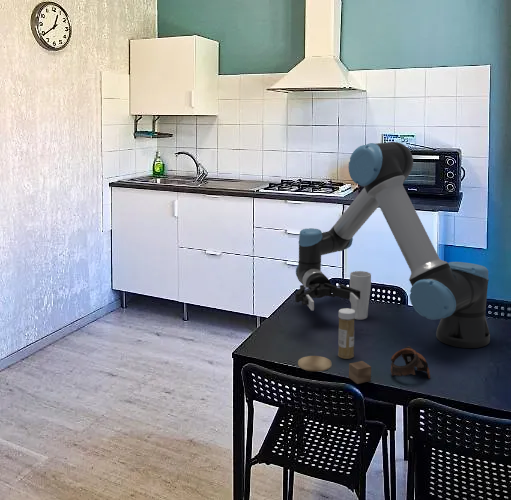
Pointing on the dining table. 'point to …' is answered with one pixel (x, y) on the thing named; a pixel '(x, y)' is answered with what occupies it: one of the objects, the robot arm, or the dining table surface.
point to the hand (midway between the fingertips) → (335, 304)
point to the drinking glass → (361, 292)
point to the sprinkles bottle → (346, 333)
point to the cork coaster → (314, 363)
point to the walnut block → (360, 372)
